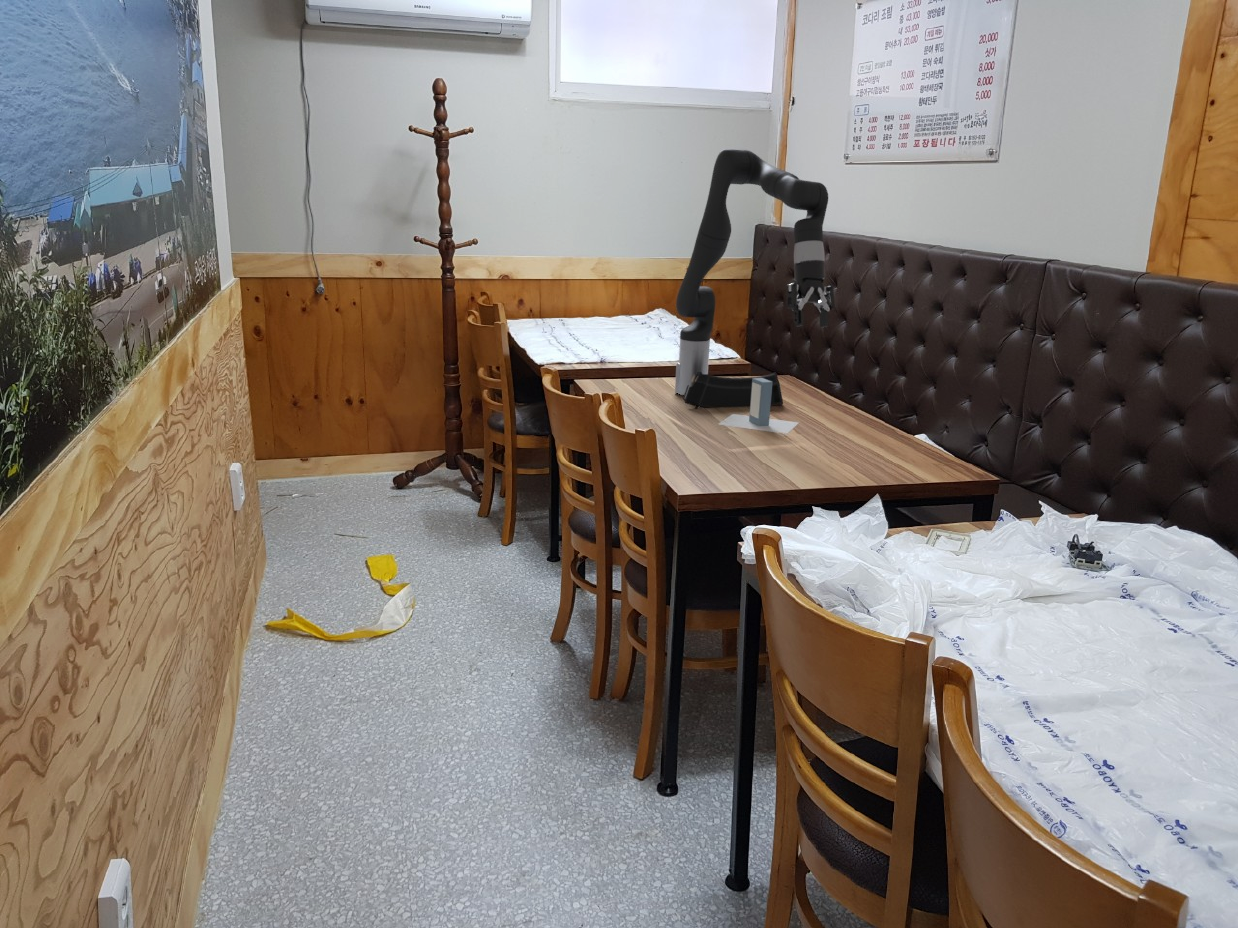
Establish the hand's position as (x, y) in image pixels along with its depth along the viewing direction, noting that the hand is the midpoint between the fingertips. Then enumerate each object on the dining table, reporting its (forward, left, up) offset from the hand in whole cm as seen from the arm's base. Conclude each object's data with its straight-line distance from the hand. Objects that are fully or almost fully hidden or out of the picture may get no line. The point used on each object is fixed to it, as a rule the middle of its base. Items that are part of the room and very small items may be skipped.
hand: (811, 326), depth 223 cm
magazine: (-25, +24, -29) cm, 45 cm away
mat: (-13, +6, -29) cm, 32 cm away
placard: (-13, +6, -28) cm, 32 cm away
